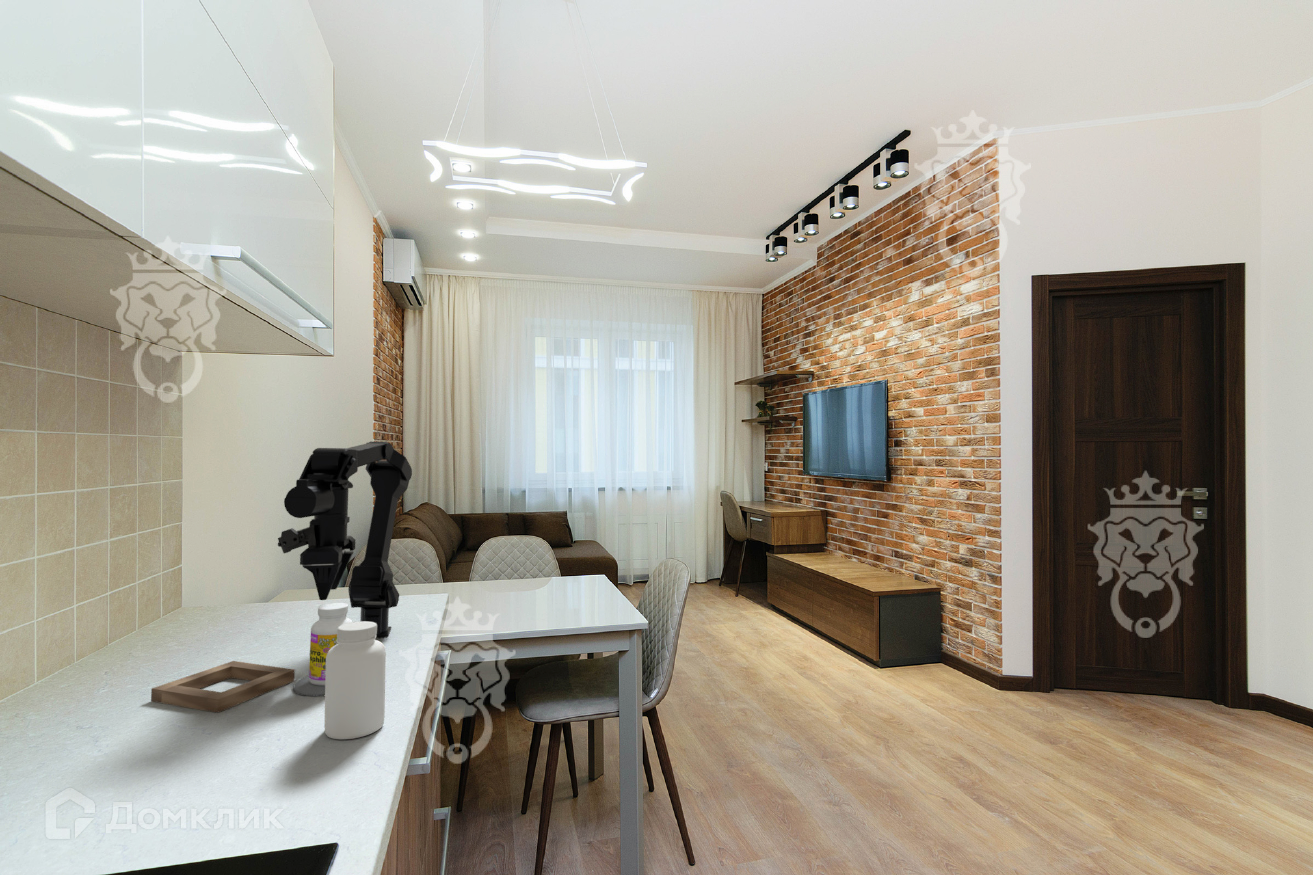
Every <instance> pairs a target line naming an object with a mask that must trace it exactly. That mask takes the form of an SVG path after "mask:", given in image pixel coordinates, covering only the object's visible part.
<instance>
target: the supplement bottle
mask: <svg viewBox="0 0 1313 875" xmlns="http://www.w3.org/2000/svg"><path fill="white" fill-rule="evenodd" d="M348 613H349V604H347V603H345V602H333V603H332V602H331V603H325V604H322V605H319V606H318V607H317V615H318V620H316V621H314V623H313V624H312V625H311V626H310V627H311V628H310V643H309V661H308V662H309V667H308V668H309V669H308V676H309V681H310V683H311V684H314V685H318V686H325V676H326V656H327V653H328V651H329V650H330V649H331V648H332V647H333V646H335V645H337V644H339V643H337V642H336V640H337V639H338V638H337V629H338V627H339V626H341V625H343V624H347V623H352V622H353V620H352V619H351V618H349V617H347V614H348Z"/></svg>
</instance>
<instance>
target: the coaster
mask: <svg viewBox="0 0 1313 875" xmlns="http://www.w3.org/2000/svg"><path fill="white" fill-rule="evenodd" d="M293 691H294V693H296V694H297V693H298V694H297V695H300V696H304V695H306V697H324V696H323V695H325V686H318V685H314V684H311V683H310V681H309V675H306V676H304V677H302V678H300V679H298V680H297V681H296V682H295V683H294V684H293Z"/></svg>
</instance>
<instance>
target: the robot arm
mask: <svg viewBox="0 0 1313 875" xmlns="http://www.w3.org/2000/svg"><path fill="white" fill-rule="evenodd" d="M365 465H366V466H365ZM362 466H365V470H366V472H367V474H368V475H369V478H370V483H369V484H370V487H371V488H372V491H373V493H374V497H375V499H374V504H373V509H372V514H371V520H370V527H369V530H368V537H367V544H366V546H365V554H364V558H363V560H362V561H361V563H360V564H359V565H354V566H353V568H352V572H351V577H350V581H349V584H348V589H347V590H348V597H349V603H350V608H352V609H355V608H360V620H359V622H362V621H368V622H374V623H376V624H377V634H376V638H379V637H380V638H382V637H388V636H390V633H391V630H392V626H389V613H390V610H389V609H391V608H396V607H398V604H399V601H400V593H399V591H398V588H397V587H396V585H395V584H394V582H393V579H394V573H393V571H392V569H391V566H390V564H389V555H390V550H391V545H392V544H391V543H392V538H393V532H394V527H395V526H394V525H395V519H396V514H397V507H398V502H399V499H400V498H401V497H402V496H403V495H404V493H406V491H407V490H408V488H409V483H410V480H411V479H412V475H413V470H412V466H411V464H410V462H409V461H408V459H407V457H406V456H405V455H403V454H401V453H400V452H398V451H397V450H396V449H395V448H394V446H393V444H391V443H390V442H388V441H369V442H366V443H364V444H358V445H355V446H351V447H347V448H346V447H345V448H343V447H341V448H340V447H317V448H315V449H314V450H313V451H312V454H310V456H309V458H308V459H307V461H306V464H305V466H304V469H303V470H302V473H301V474H300V477H299V478H298V479H296V483H295V486H294V487H291V489H290V490H288V492H287V493H286V496H285V498H283V499H284V501H283V503H284V504H283V506H284V508H285V511H286V512H287V513H288V514H289V515H290V516H291V517H294V518H297V519H303V518H310V517H313V518H312V519H311V520H310V521H309V525H308V527H305V528H304V527H303V528H302V529H299V530H296V529H295V528H293V527H292V528H289V529H286V530H282V531H281V535H280V536H279V537H278V538H277V541H278V542H277V546H278V547H281V551H282V553H283V554H288V553H290V552H291V551H292V550H296V549H298V548H302V547H304V546H307V547H306V548H305V549H304V551H302V552H301V553H300V554H299V565H300V566H302V568H303V569H306V570H307V571H308V572H310V573H311V574H312V575H313V579H314V583H315V587H316V591H317V595H318V598H319V600H320V601H325V600H327V599H328V597H329V595H330V592H331V590H333V591H334V590H337V589H338V586H339V585H340V582H341V580H342V578H343V575H344V573H345V572H346V569H347V567H348V565H349V562H350V560H351V558H352V556H353V554H354V550H356V539H355V538H354V537H353V536H352V535H348V523H350V518H351V516H349V514H348V513H349V489H353V488H354V485H353V483H352V482H351V481H350V480H349V479H350V478H351V477H352V476H353V475H355V474H356V473H358V469H359V467H362ZM347 550H349V551H347Z"/></svg>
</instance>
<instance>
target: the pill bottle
mask: <svg viewBox="0 0 1313 875" xmlns="http://www.w3.org/2000/svg"><path fill="white" fill-rule="evenodd" d="M376 634H377V624H376V623H374V622H368V621H362V622H360V621H352V623H347V624H343V625H341V626H339V627H338V629H337V638H338V639H337V640H336V642H337V643H339V644H337V645H335V646H333V647H332V648H331V649H330V650H329V651H328V653H327V656H326V676H325V696H324V726H323V727H324V732H325V736H327V737H328V738H330V739H334V740H351V739H358V738H362V737H365V736H368V735H371V734H373V733H375V732H377V731H378V730H380V729H382V727H383V726H384V723H385V717H386V715H385V713H386V711H385V709H386V669H387V668H386V667H387V666H386V662H387V661H386V658H387V657H386V656H387V652H386V651H387V650H386V647H385V645H384V643H382V642H381V641H379V640H377V637H376Z"/></svg>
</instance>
